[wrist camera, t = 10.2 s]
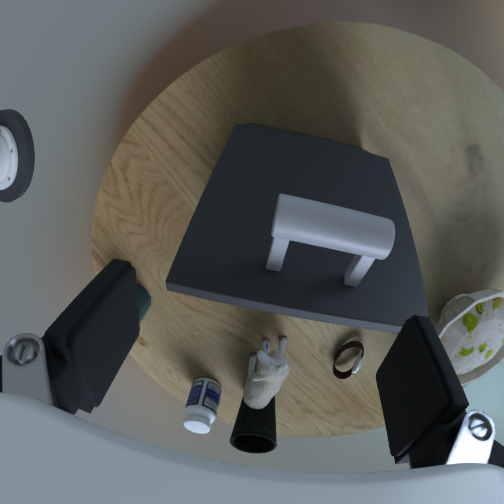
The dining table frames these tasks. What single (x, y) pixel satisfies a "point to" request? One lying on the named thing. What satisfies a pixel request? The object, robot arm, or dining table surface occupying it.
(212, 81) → the dining table surface
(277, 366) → the figurine
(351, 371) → the watch
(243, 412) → the cup
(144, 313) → the creamer cup
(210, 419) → the pill bottle
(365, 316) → the chest lid
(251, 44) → the dining table surface
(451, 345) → the bowl
